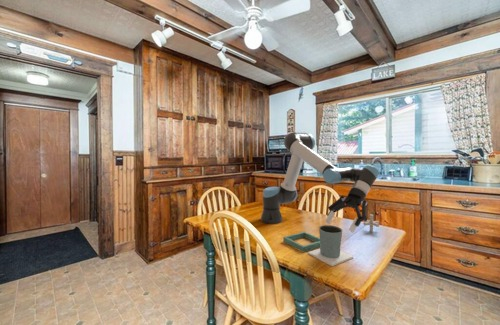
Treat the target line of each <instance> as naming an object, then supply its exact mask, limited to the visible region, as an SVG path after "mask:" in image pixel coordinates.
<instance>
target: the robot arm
mask: <svg viewBox="0 0 500 325" xmlns="http://www.w3.org/2000/svg"><path fill="white" fill-rule="evenodd" d="M283 140H284V141H283V145H284V147H285V149H286V150H287V151H288V152H289V153H290V154H291V157H290V160H289V164H288V167H287V169H286V173H285V176H284V180H283V182H281V183H280V186H268V187H266V188H264V189H263V190H262V212H261V216H260V221H261V222H262V223H264V224H269V225H270V224H279V223H282V222H283V217H282V213H281V211H280V207H281V206H280V205H285V204H290V203H293V202H295V201H296V199H297V198H298V191H297V187H296V183H297V180H298V178H299V175H300V172H301V169H302V166H303V163H304V162H305V163H307V164H308V165H309V166H310V167H312V168H313V169H314V170H315V171H317V172H318V173H320V174H321V175H322V179H324V181H325V183H327V184H338V183H344V182H345V183H346V182H353V185H352V186H351V188H350V190H349V192H347V196H345V197H344V195H340V196H339V198H338V199H337V200H336V201H335V202H333V203H332V204H330V205H329V206H328V207H327V209H328V210H329V212H328V213H327V214H326V215H327V217H326V219H325V220H324V222H325V223H326V225H330V223H331V221H332V220H333V218H334V217H335V215H336V212H339V211H341V210H343V209H344V208H352V209H354V210H355V213H356V216H357V217H354V219H353V221H352V223H351V225H350V227H349V228H348V230H349V231H350V232H351V233H352V234H354V233H355V230H356V228H357V227H359V226H360V225H361V223H362V222H364V221H367V220H368V206H369V202H368V201H367V200H365V199H366V197H367V195H368V193H369V192H370V190H371V188H372V186H373V185H374V183H375V181H376V180H377V178H378V176H379V169H378V168H376V166H374V165H370V164H368V165H364V167H363V168H356V167H351V166H347V165H346V166H339V167H337V166H335V165H334V164H332V163H331V162H330V161H328V160H327V159H325V158H323V157H322V156H321V155H320V154H318V153H316V152H315V151H314V150H313V149H314V147H315V145H316V142H315V141H316V140H315V137H314V136H313V134H311V133H309V132H308V133H307V132H293V131H292V132H290V133H288V134H286V136H285V138H284V139H283ZM360 206H361V210H360Z"/></svg>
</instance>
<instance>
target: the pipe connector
mask: <svg viewBox="0 0 500 325" xmlns="http://www.w3.org/2000/svg"><path fill="white" fill-rule="evenodd" d="M362 224H363V226H369V232H370V231H373V232H374V227H376V228H379V227H380V221H379V220H374V214H369V219H367V221H363V223H362Z"/></svg>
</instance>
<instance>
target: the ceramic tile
mask: <svg viewBox="0 0 500 325" xmlns="http://www.w3.org/2000/svg"><path fill="white" fill-rule="evenodd" d="M307 254H308V255H309V256H312V257H314V258H315V259H317V260H319V261H321V262H323V263H324V264H326V265H329V266H330V267H334V266H337V265H340V264H342V263H345V262H347V261H349V260H352V259H354V256H353V255H351V254H348V253H346V252H344V251H342V250H340V256H339V257H338V258H328V257H324V256H323V255H321V253H320V247H319V248H315V249H312V250H309V251H307Z"/></svg>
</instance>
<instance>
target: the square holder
mask: <svg viewBox="0 0 500 325" xmlns="http://www.w3.org/2000/svg"><path fill="white" fill-rule="evenodd" d="M302 238H306V239H308V240H310V241H313V242H311V243H308V244H305V245H303V244H302V243H301V244H300V243H298V242H297V241H295V240H298V239H302ZM282 239H283V243H286V244H287V245H289V246H291V247H293V248H295V249H296V250H298V251H300V252H303V253H306V252H310V251H313V250H316V249H319V248H320V237H318V236H316V235H313V234H312V233H309V232H306V231H302V232H298V233H294V234H291V235H287V236H283V238H282Z"/></svg>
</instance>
